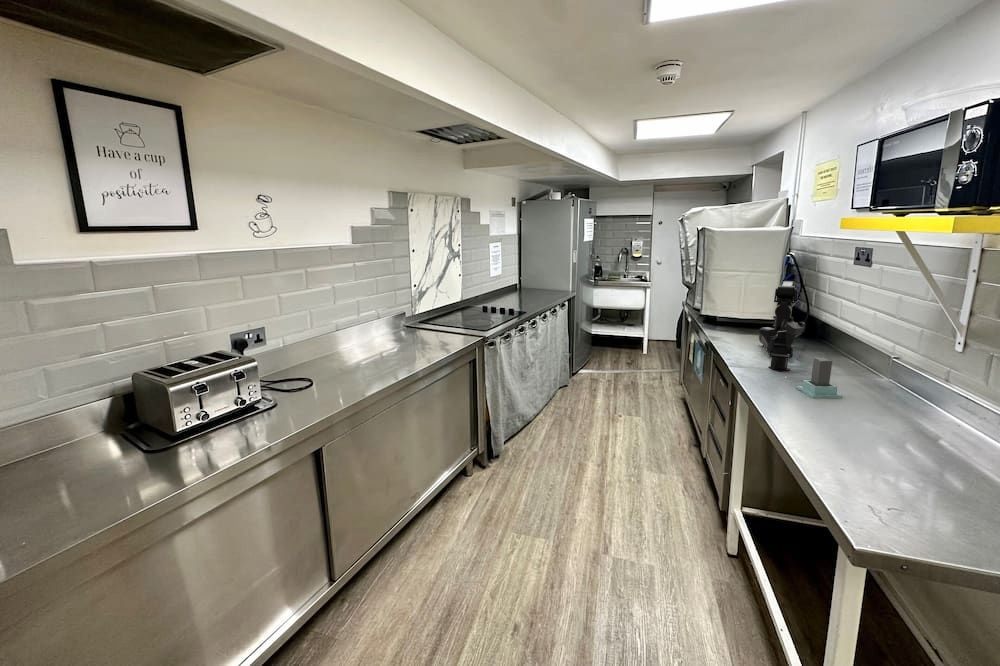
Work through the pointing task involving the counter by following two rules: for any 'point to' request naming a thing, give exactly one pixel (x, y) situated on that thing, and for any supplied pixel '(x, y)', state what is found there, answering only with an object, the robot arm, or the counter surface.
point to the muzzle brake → (764, 342)
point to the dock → (819, 390)
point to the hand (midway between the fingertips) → (779, 349)
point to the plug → (821, 372)
